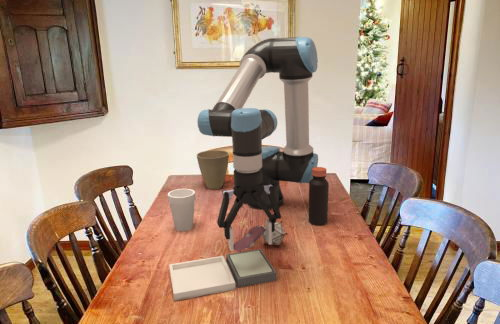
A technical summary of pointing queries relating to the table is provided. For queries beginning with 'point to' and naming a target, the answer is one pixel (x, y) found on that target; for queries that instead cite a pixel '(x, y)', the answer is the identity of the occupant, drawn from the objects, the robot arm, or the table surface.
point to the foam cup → (182, 208)
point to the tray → (200, 277)
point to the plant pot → (213, 167)
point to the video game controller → (249, 238)
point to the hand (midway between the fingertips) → (250, 245)
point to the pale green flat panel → (250, 264)
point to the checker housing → (255, 278)
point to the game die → (276, 234)
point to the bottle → (318, 197)
